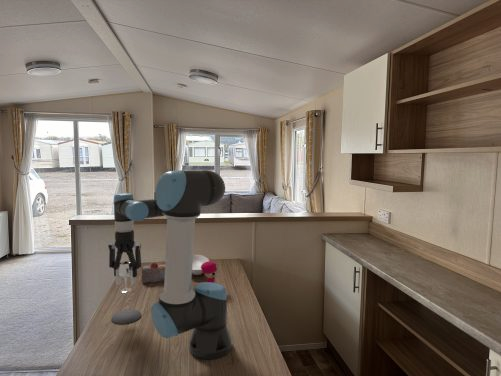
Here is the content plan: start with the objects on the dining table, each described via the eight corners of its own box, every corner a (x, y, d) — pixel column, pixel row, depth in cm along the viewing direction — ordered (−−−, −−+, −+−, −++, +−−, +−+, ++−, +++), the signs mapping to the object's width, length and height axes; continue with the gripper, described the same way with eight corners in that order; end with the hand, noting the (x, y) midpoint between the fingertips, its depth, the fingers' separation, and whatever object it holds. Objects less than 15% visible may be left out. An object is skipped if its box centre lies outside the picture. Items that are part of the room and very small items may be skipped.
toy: (214, 293, 169) (214, 264, 168) (198, 292, 171) (198, 263, 169) (219, 287, 177) (219, 259, 176) (204, 286, 179) (204, 258, 178)
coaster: (133, 324, 137) (133, 323, 137) (105, 323, 138) (105, 321, 138) (145, 311, 149) (145, 310, 149) (120, 310, 150) (120, 308, 150)
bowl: (183, 264, 215) (183, 255, 215) (206, 263, 219) (206, 254, 218) (185, 281, 186) (185, 270, 186) (212, 279, 190) (212, 268, 189)
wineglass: (128, 286, 146) (127, 259, 145) (135, 290, 143) (135, 262, 142) (116, 290, 142) (115, 263, 141) (123, 294, 138) (122, 265, 137)
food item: (166, 276, 193) (165, 260, 192) (167, 281, 185) (167, 264, 185) (141, 279, 188) (140, 262, 187) (142, 284, 180) (141, 267, 180)
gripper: (149, 229, 143) (150, 281, 145) (108, 227, 145) (109, 279, 147) (141, 232, 135) (143, 288, 137) (98, 231, 137) (100, 286, 139)
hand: (125, 283), depth 142 cm, fingers closed on wineglass, 6 cm apart
